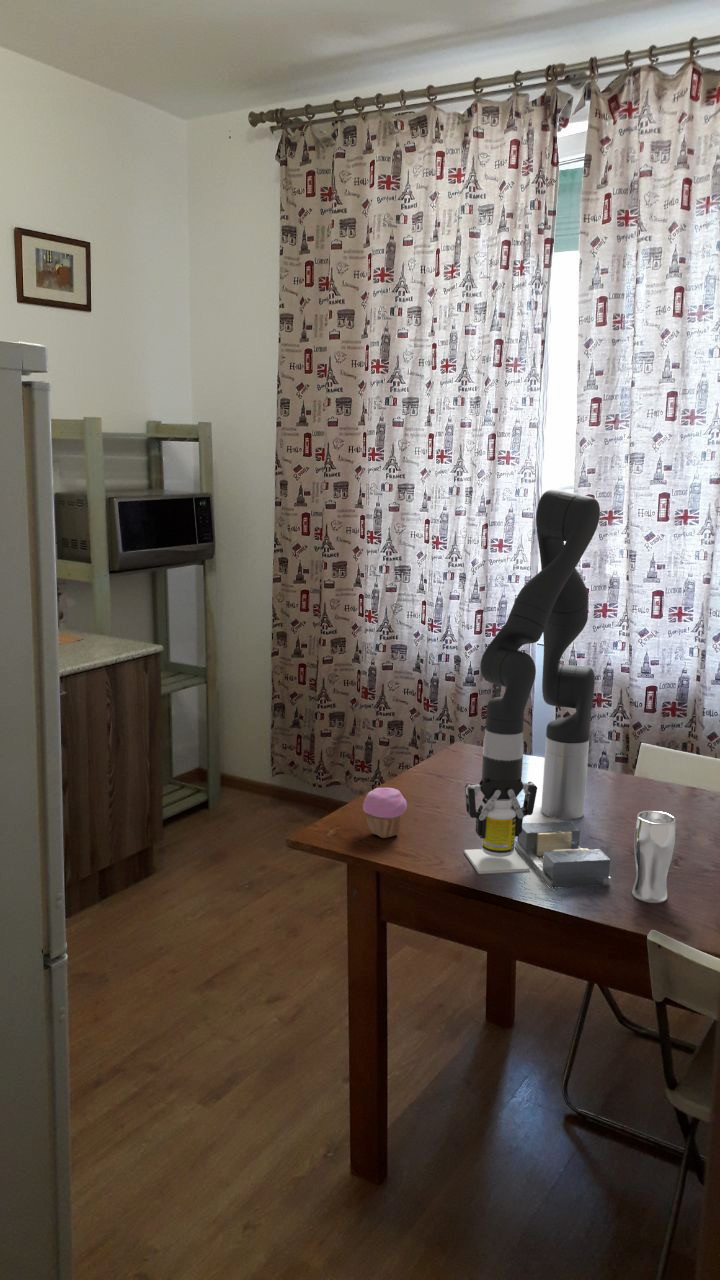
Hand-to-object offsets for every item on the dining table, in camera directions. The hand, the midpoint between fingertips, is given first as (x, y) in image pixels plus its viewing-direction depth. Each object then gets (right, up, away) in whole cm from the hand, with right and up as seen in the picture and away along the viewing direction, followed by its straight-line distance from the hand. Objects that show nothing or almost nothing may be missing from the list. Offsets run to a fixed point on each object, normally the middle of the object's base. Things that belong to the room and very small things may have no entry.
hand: (498, 835), depth 192 cm
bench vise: (+12, -6, 0) cm, 13 cm away
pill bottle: (0, -3, +1) cm, 3 cm away
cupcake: (-22, -3, +13) cm, 26 cm away
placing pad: (0, -5, +1) cm, 5 cm away
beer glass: (+26, -9, -12) cm, 30 cm away
